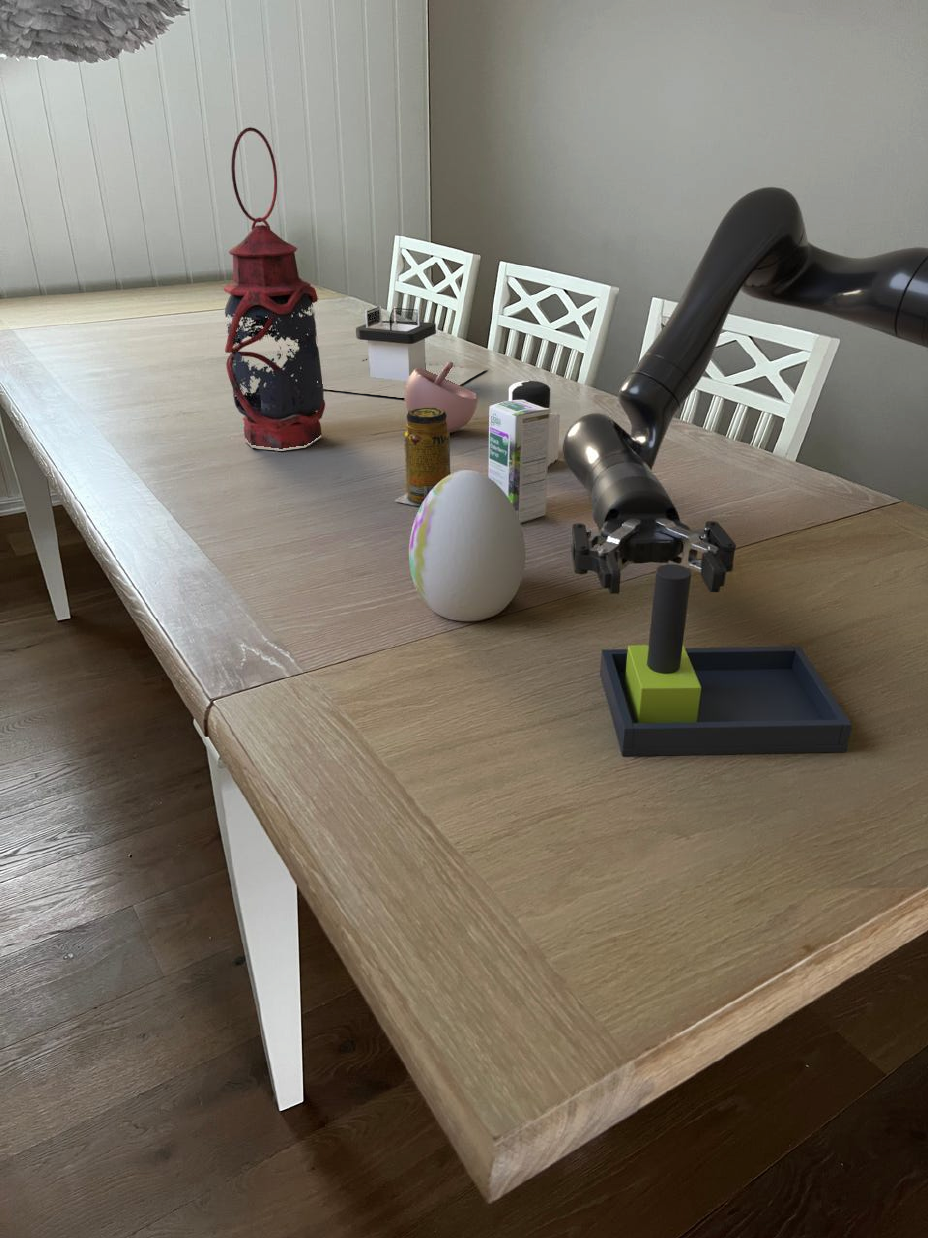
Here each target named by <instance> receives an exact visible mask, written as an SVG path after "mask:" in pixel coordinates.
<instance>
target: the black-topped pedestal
mask: <svg viewBox="0 0 928 1238" xmlns="http://www.w3.org/2000/svg"><path fill="white" fill-rule="evenodd" d="M364 313H365V315H364V316H365V324H362V325H360V326H357V327H355V338H356V339H357V340H361V341H367V351H368V358H369V370H370V377H376V378H384V379H392V380H401V381H408V378H409V377H410V375H411V373H412V372H413V371H414V369H417V368H420V369H424V370H426V363H427V362H426V339H427V338H430V337H431V336H434V335H435V334H437V324H436V322H427V321H421V319H420V308H417V309H415V308H413V309H412V308H400V307H399V308H398V307H396V306H393V308H392V310H391V312H390V316H389V320H383V319H382V306H381V305H379V306H377V307H375V308H372V309H368V310H364ZM414 316H415V317H414ZM415 318H416V319H415Z"/></svg>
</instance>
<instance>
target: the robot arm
mask: <svg viewBox="0 0 928 1238" xmlns="http://www.w3.org/2000/svg"><path fill="white" fill-rule="evenodd" d="M740 292H742V293H743V294H744V295H747V296H749V297H751V298H753V299H756V300H760V301H765V302H769V303H773V304H777V305H782V306H789V307H792V308H798V309H803V310H807V311H811V312H812V311H813V312H817V313H821V314H824V315H828V316H832V317H834V318H837V319H840V320H843V321H846V322H849V323H853V324H856V325H859V326H863V327H866V328H869V329H872V330H876V331H879V332H881V333H884V334H886V335H889V336H891V337H894V338H897V339H898V340H902V341H906V342H909V343H911V344H914V345H917V346H920V347H924V348H926V349H928V247H919V246H915V247H907V248H902V249H897V250H893V251H892V250H891V251H888V252H884V253H880V254H877V255H874V256H869V257H859V258H858V257H849V256H845V255H841V254H838V253H834V252H831V251H827V250H825V249H822V248H820V247H819V246H816V245H813V244H812V243H811V242H810V241H809V240H808V234H807V230H806V226H805V221H804V216H803V212H802V209H801V207H800V204H799V202H798V200H797V198H796V196H794V195H793V194H792V193H791V192H790V191H788V190H787V189H785V188H782V187H777V186H776V187H775V186H766V187H761V188H757V189H755V190H753V191H752V190H751V191H750V192H748V193H747V194H745V195H743V196H741V197H740V199H738V200H737V201H736V202H735V203H733V205H732V206H731V207H730V208H729V209H728V211H727V212H726V214H725V215H724V217H723V219H722V220H721V222H720V223H719V225H718V227H717V229H716V230H715V232H714V235H713V236H712V239H711V240H710V242H709V244H708V246H707V248H706V250H705V252H704V254H703V256H702V258H701V260H700V262H699V263H698V265H697V267H696V269H695V271H694V273H693V274H692V277H691V278H690V280H689V282H688V284H687V286H686V288H685V289H684V292H683V294H681V297H680V299H679V301H678V302H677V304H676V306H675V308H674V309H673V311H672V313H671V315H670V316H669V318H668V319H667V321H666V323H665V325H664V326H663V328H662V329H661V331H659V334H658V335H657V336H656V338H655V339H654V341H653V342H652V344H651V345H650V346H649V348H648V349H647V350H646V351H645V352H644V354H643V355H642V357H641V358H640V360H639V361H638V362H637V363H636V365H635V367H633V369H632V371H631V372H630V373H629V375H628V376H627V378H626V379H625V381H623V383H622V384H621V385H620V387H619V390H618V392H617V399H618V402H619V404H620V407H621V408H622V410H623V411H624V413H625V415H626V416H627V419H628V420H629V422H630V426H631V429H630V434H629V432H627V431H626V430H625V429H624V428H623V427H622V426H621V425H619V423H618V422H617V421H615V420H614V419H613V418H612V417H610V416H609V415H607V414H605V413H600V412H593V413H592V412H591V413H588V414H585V415H583V416H581V417H580V418H578V419H576V421H574V423H572V424H571V426H570V427H569V428H568V430H567V431H566V434H565V436H564V439H563V444H562V458H563V460H564V462H565V464H566V466H567V468H568V469H569V470H570V472H571V473H572V474H573V475H574V477H575V478H576V479H577V480H578V482H579V483H580V484H581V485H582V486H583V488H584V489H585V490H586V492H587V494H588V498H589V500H590V503H591V510H592V518H593V521H594V522H595V524H596V526H597V529H598V531H597V530H596V531H595V530H594V531H592V530H591V529H586V525H585V524H584V523H580V522H576V523H573V524H572V526H571V543H570V545H571V547H570V550H571V551H570V552H571V558H572V559H571V560H572V565H573V571H574V573H575V574H577V575H586V574H588V573H589V572H594V575H595V576H596V577H597V578H598V582H599V585H600V586H601V588H603V589H604V590H605V589H606V590H608V591H609V594H610V595H619V594H620V590H621V589H620V588H621V572H622V571H623V570H624V569H626V568H627V567H628V566H630V565H633V564H647V563H656V564H659V565H661V564H662V565H663V564H665V565H667V564H675V565H680V566H684V567H686V568H688V569H689V570H692V571H695V572H697V573H699V574H700V577H701V578H702V580H703V582H704V584H705V586H706V587H707V590H708V592H709V593H719V592H720V590H721V588H723V587H725V582H726V575H727V573H730V572H733V570H734V558H735V553H736V549H737V544H736V542H735V541H734V540H733V539H732V537H730V535H729V534H728V533H727V532H726V530H725V529H724V528H723V527H722V526H721V524H720V523H719V522H718V521H714V520H709V521H706V522H705V525H704V528H703V529H701V528H699V529H691V528H690V526H688V525H687V524H685V523H683V522H682V521H681V518H680V515H679V512H678V510H677V508H676V506H675V504H674V503H673V501H672V499H671V497H670V496H669V494H668V492H667V490H666V489H665V487H664V486H663V484H662V482H661V481H660V479H659V478H658V477H657V476H656V475H655V474H654V473H653V471H652V470H653V468H654V466H655V463H656V460H657V457H658V454H659V452H660V449H661V447H662V443H663V442H664V439H665V438H666V437H665V436H666V435H667V431H668V430H669V428H670V425H671V422H672V420H673V419H674V417H675V416H676V415H677V413H678V412H679V410H680V409H681V407H682V406H683V405H684V403H685V402H686V400H687V399H688V398H689V396H690V395H691V393H692V392H693V391H694V389H695V388H696V387H697V385H698V384H699V383H700V381H701V379H702V377H703V375H704V374H705V372H706V370H707V368H708V366H709V364H710V363H711V360H712V358H713V354H714V353H715V349H716V347H717V344H718V341H719V338H720V336H721V333H722V330H723V327H724V326H725V325H724V324H725V323H726V321H727V318H728V315H729V313H730V311H731V309H732V306H733V304H734V302H735V301H736V299H737V297H738V296H739V293H740ZM597 545H599V546H598V547H597V548H596V550H593V549H594V547H595V546H597ZM698 552H699V553H702V555H701V560H700V559H698ZM680 555H681V556H680Z"/></svg>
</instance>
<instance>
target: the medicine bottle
mask: <svg viewBox="0 0 928 1238" xmlns="http://www.w3.org/2000/svg"><path fill="white" fill-rule="evenodd" d="M511 400H525V401H526V402H529V403H532V404H535V405H538V406H541V407H543V408H548V409H550V410H551V387H550V386H549V385H548V384H546V383H544V382H542V381H537V380H521V381H517V382H515V383H513V384H511V385H510V386H509V388H508V401H511ZM560 419H561V415H560V414H559V413H555V412H550V424H549V446H548V467H549V466H551V465H552V464H553V463H555V462H556V461H557V460H558V459H559V447H560V445H559V444H560ZM555 460H556V461H555ZM551 463H552V464H551ZM550 464H551V465H550Z"/></svg>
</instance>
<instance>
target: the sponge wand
mask: <svg viewBox="0 0 928 1238" xmlns="http://www.w3.org/2000/svg"><path fill="white" fill-rule="evenodd" d="M654 578H655V580H654V589H653V598H652V608H651V618H650V619H651V621H650V629H649V639H648V644H647V645H645V644H644V645H643V644H642V645H641V644H640V645H628V646H627V649H628V652H627V663H626V675H625V685H626V688H627V692H628V695H629V699H630V702H631V706H632V709H633V713H634V716H635V719H636V723H678V722H697V716H698V708H699V701H700V694H701V686H700V683H699V681H698V679H697V676H696V674H695V671H694V669H693V667H692V664H691V662H690V659H689V657H688V655H687V652H686V650H685V648H686V647H685V645H684V638H685V628H686V622H687V621H686V620H687V613H688V604H689V597H690V589H691V588H690V587H691V581H692V580H691V579H692V571H691V569H688V568H686V567H684V566H680V565H675V564H662V565H660V566H658V567H657V568H656V571H655V577H654Z"/></svg>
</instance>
